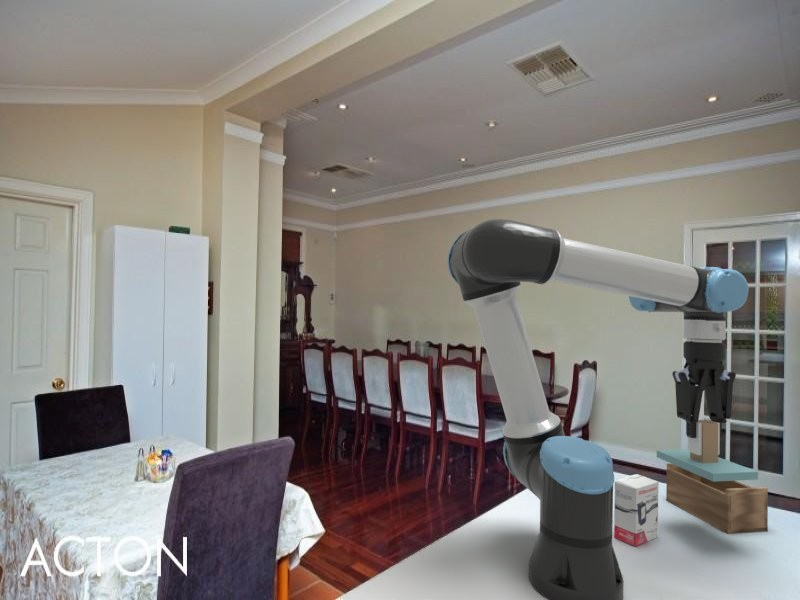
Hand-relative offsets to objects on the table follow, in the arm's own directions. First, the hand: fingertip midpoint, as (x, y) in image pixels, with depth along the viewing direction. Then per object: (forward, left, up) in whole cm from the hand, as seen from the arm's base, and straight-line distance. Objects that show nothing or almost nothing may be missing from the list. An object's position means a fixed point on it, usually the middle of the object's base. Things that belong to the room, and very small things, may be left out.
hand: (703, 452), depth 99 cm
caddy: (+12, +10, -18) cm, 23 cm away
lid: (0, 0, -3) cm, 3 cm away
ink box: (-14, +2, -18) cm, 23 cm away
